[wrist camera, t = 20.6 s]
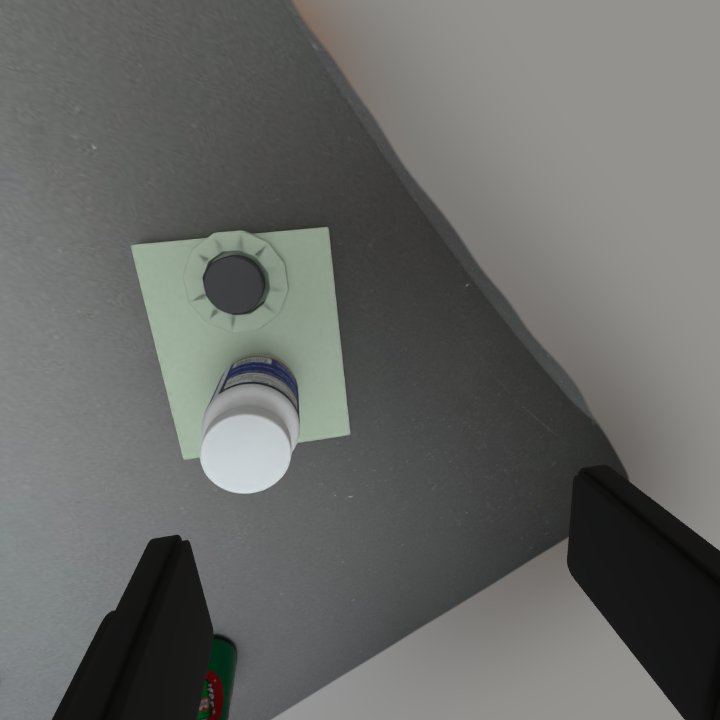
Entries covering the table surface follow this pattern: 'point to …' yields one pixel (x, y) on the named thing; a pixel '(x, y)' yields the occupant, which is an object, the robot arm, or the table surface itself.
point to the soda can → (218, 682)
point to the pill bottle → (251, 425)
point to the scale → (246, 324)
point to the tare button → (234, 284)
